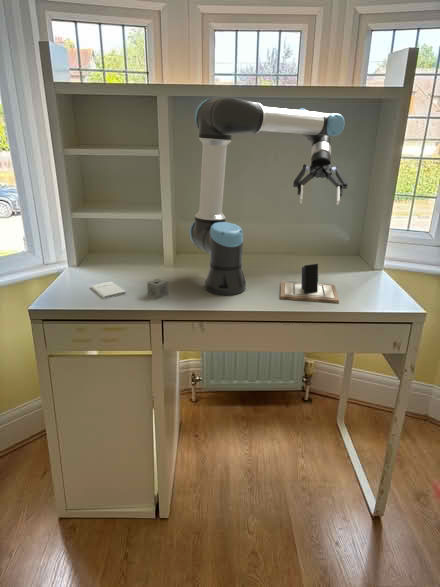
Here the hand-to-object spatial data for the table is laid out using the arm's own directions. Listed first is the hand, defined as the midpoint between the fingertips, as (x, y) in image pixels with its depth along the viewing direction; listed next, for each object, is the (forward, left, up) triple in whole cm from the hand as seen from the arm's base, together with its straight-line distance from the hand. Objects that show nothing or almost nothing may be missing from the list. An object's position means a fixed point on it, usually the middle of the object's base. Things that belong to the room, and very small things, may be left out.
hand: (319, 202), depth 157 cm
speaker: (+11, -15, -29) cm, 34 cm away
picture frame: (+11, -14, -30) cm, 35 cm away
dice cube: (-18, -60, -30) cm, 70 cm away
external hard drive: (-31, -73, -30) cm, 85 cm away
